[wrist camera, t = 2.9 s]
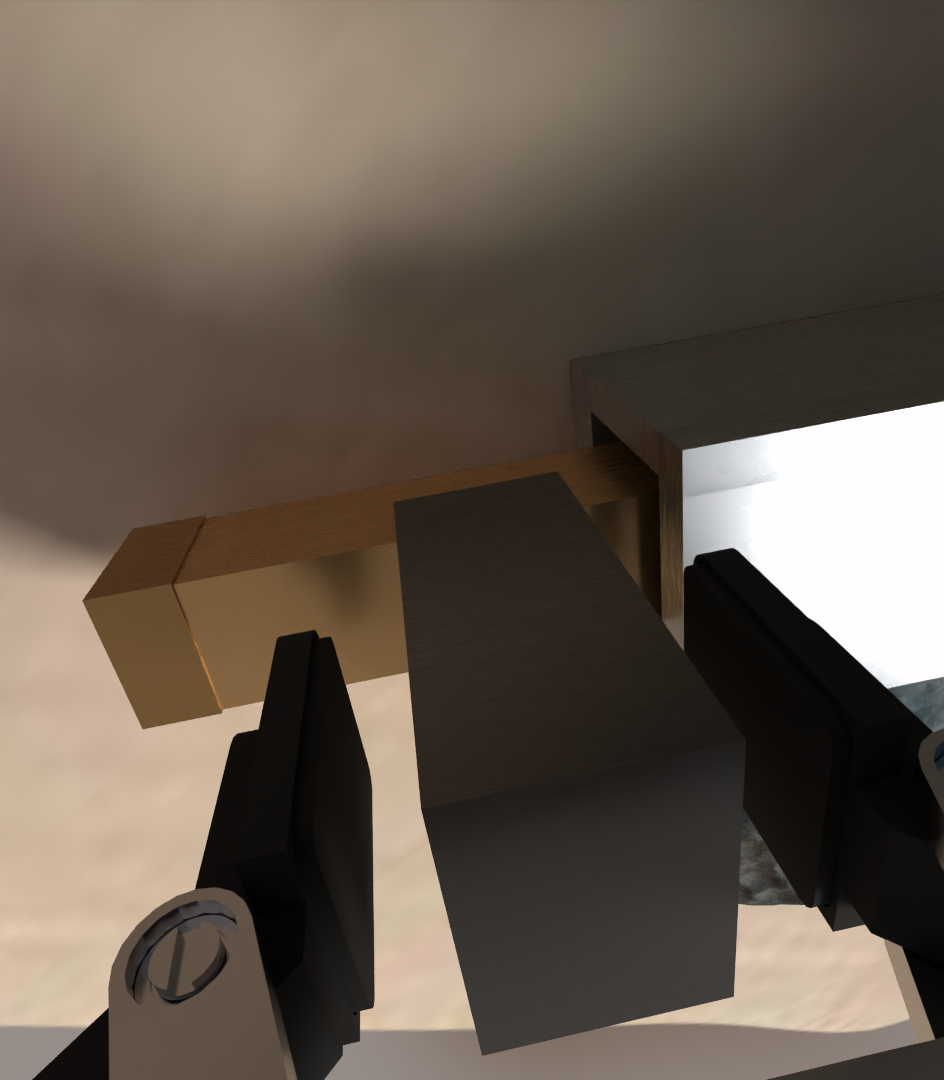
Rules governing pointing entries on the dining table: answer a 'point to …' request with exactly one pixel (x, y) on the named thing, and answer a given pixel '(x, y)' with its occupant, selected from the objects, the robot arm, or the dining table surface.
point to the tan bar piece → (488, 712)
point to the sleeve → (798, 467)
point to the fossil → (759, 871)
